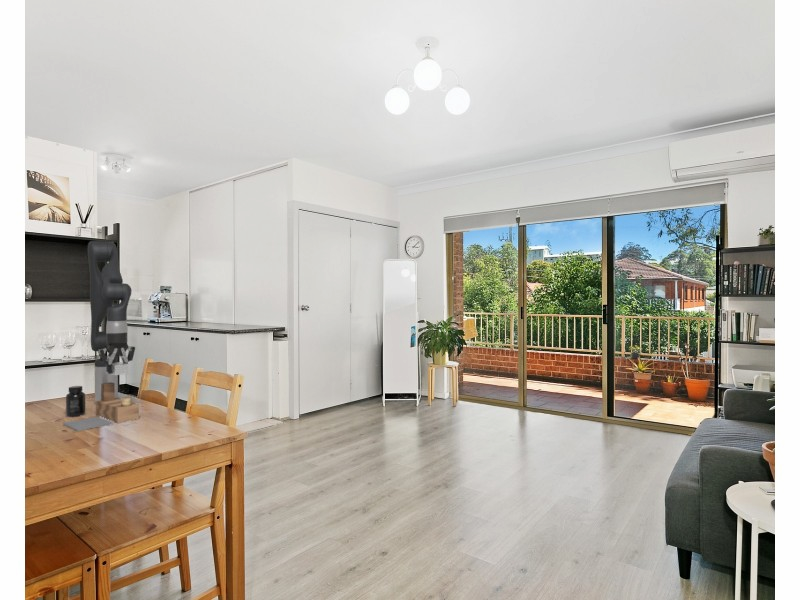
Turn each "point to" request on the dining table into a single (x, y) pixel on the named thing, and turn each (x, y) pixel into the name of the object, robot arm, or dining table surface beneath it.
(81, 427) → the mat
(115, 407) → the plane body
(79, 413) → the supplement bottle
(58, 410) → the dining table surface
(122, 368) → the white rectangular block
